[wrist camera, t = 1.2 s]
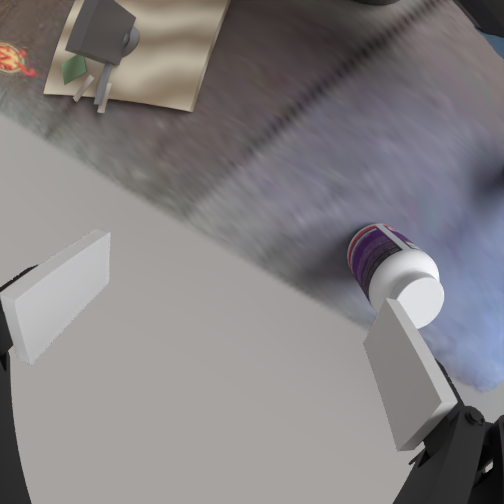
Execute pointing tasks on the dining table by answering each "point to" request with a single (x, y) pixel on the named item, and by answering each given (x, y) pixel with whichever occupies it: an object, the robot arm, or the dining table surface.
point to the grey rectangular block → (101, 36)
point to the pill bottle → (395, 272)
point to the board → (147, 55)
